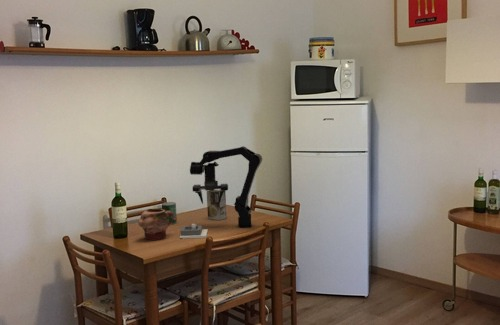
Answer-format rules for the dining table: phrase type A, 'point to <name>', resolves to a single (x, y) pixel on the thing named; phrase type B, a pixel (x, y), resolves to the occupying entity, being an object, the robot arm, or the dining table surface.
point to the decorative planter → (155, 223)
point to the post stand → (203, 235)
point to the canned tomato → (172, 208)
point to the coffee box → (216, 205)
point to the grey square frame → (190, 230)
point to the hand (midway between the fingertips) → (211, 203)
